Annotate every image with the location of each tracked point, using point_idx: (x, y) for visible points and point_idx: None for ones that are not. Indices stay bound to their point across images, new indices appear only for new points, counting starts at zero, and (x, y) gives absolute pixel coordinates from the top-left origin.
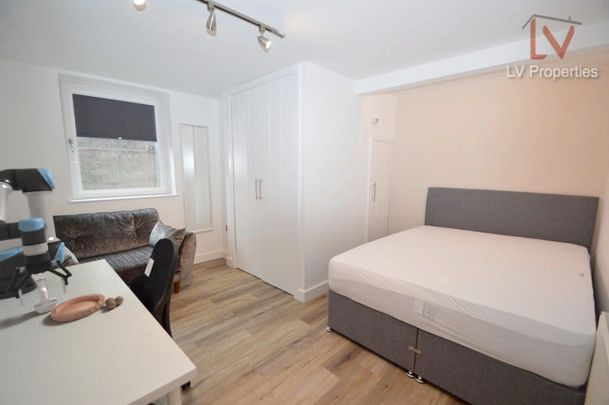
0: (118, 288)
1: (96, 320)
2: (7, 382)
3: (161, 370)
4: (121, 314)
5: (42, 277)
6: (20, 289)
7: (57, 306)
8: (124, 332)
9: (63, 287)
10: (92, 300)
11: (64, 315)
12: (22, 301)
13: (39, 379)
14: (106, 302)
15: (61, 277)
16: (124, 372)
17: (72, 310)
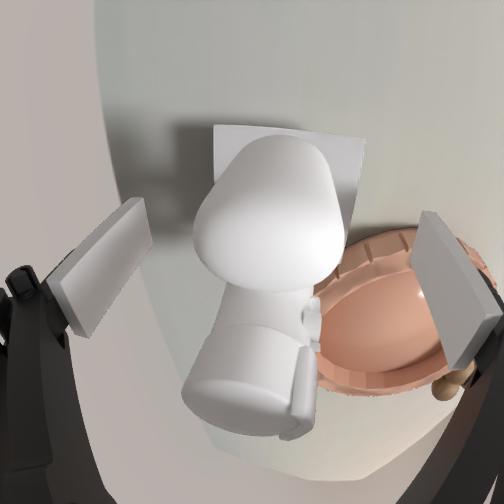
0: None
1: (376, 402)
2: (209, 434)
3: (344, 477)
4: (421, 408)
5: (282, 270)
6: (63, 296)
7: (331, 293)
8: (372, 444)
9: (428, 301)
10: None
11: (322, 385)
12: (136, 265)
13: (246, 449)
14: (447, 379)
15: (461, 400)
16: (321, 471)
17: (370, 323)
